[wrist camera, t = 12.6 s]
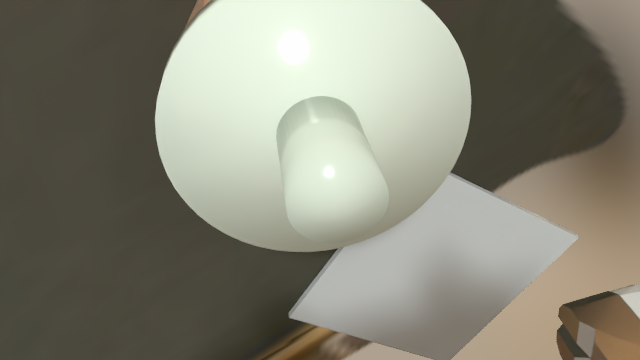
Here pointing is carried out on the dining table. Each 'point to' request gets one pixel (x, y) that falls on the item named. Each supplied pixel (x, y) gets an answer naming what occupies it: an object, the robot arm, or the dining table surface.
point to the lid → (311, 117)
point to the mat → (434, 272)
